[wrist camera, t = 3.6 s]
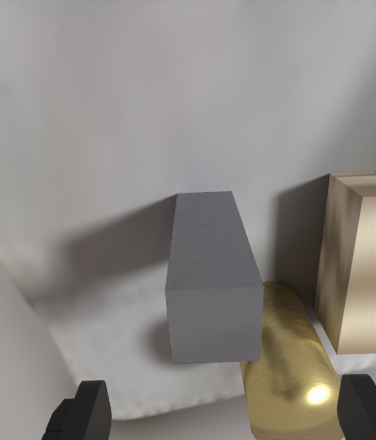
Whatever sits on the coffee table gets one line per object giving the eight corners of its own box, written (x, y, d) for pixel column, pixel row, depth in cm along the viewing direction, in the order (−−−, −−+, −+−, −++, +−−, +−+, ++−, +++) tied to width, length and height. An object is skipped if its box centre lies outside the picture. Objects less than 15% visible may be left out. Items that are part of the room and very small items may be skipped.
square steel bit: (177, 193, 25) (164, 290, 14) (231, 191, 24) (263, 287, 13) (180, 242, 26) (172, 363, 15) (231, 239, 26) (260, 361, 15)
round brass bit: (231, 283, 28) (251, 386, 18) (304, 280, 27) (361, 383, 18) (231, 339, 30) (249, 455, 21) (299, 337, 30) (346, 453, 21)
